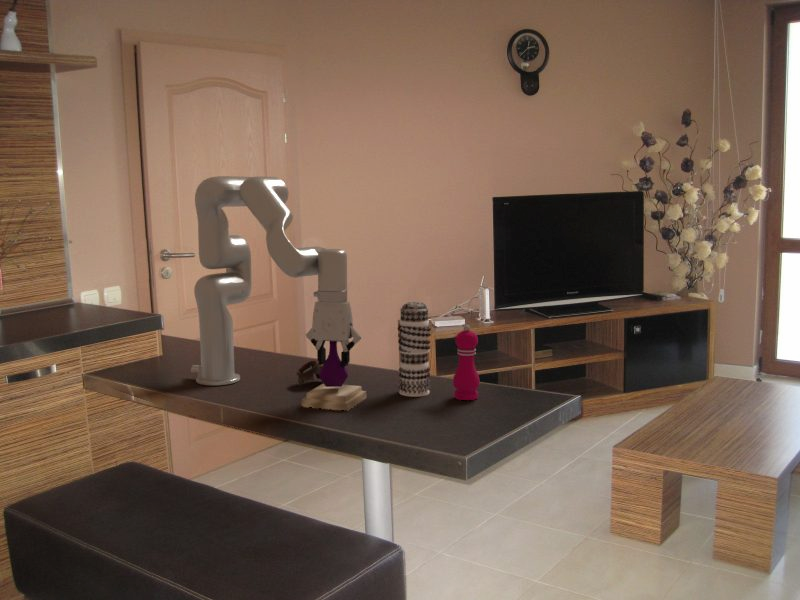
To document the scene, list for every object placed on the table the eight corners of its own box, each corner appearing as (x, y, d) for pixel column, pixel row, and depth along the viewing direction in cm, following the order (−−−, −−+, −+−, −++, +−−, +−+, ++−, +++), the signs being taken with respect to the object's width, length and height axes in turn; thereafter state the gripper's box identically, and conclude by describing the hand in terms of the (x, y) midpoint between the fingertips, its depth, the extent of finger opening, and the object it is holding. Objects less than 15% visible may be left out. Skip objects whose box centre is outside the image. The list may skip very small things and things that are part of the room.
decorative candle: (392, 395, 212) (392, 304, 209) (404, 387, 221) (404, 300, 217) (424, 398, 209) (424, 306, 206) (435, 390, 218) (435, 301, 214)
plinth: (301, 406, 201) (301, 393, 201) (322, 394, 214) (322, 381, 213) (348, 411, 197) (347, 397, 197) (366, 398, 210) (366, 385, 209)
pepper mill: (482, 395, 212) (483, 323, 209) (476, 402, 205) (476, 327, 202) (456, 393, 214) (457, 322, 211) (449, 400, 207) (450, 326, 204)
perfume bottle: (319, 381, 208) (318, 315, 206) (347, 380, 209) (347, 314, 206) (319, 388, 201) (318, 320, 198) (348, 388, 202) (347, 319, 199)
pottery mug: (333, 390, 220) (319, 367, 217) (305, 403, 222) (290, 380, 219) (338, 370, 231) (324, 348, 228) (311, 383, 233) (297, 361, 230)
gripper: (296, 297, 201) (297, 365, 203) (358, 300, 195) (358, 370, 198) (308, 293, 208) (309, 359, 210) (369, 296, 202) (369, 364, 205)
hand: (333, 364), depth 204 cm, fingers closed on perfume bottle, 5 cm apart
